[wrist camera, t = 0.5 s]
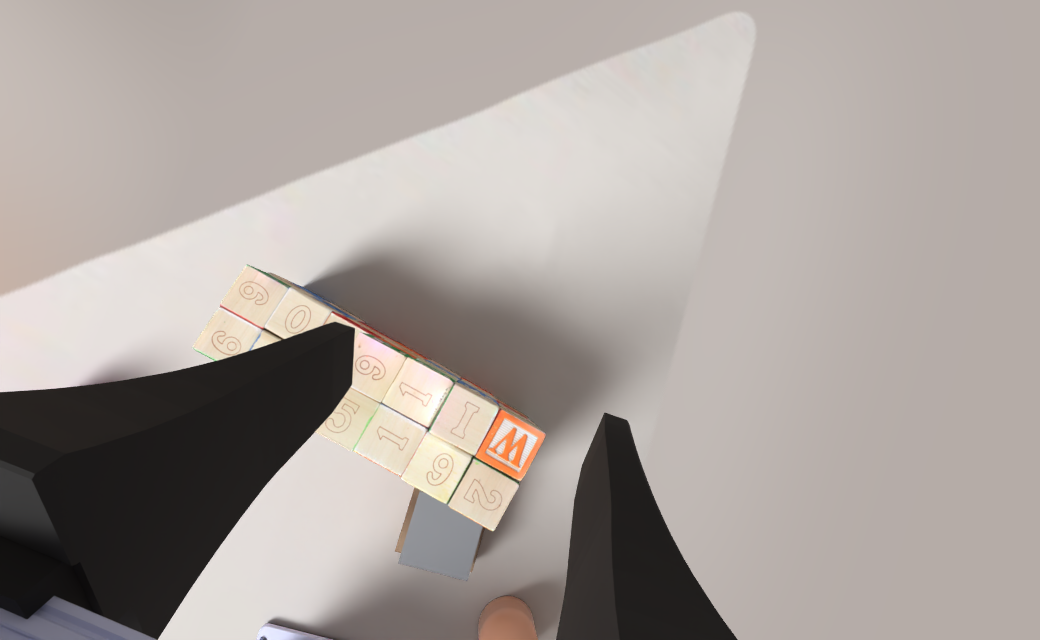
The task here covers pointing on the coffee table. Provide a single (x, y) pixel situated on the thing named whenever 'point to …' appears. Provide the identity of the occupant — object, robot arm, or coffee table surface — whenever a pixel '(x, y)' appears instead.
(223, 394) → the robot arm
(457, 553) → the tower top
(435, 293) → the coffee table surface
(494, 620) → the terracotta cylinder
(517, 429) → the stack of blocks
